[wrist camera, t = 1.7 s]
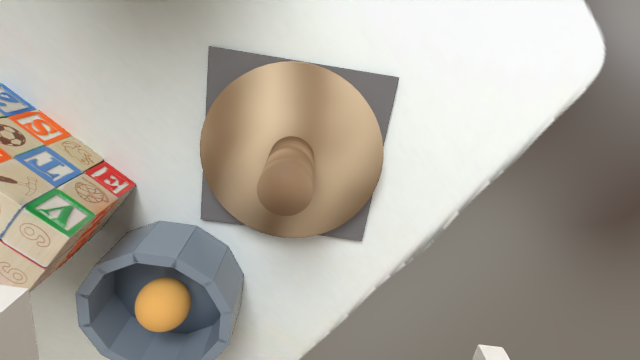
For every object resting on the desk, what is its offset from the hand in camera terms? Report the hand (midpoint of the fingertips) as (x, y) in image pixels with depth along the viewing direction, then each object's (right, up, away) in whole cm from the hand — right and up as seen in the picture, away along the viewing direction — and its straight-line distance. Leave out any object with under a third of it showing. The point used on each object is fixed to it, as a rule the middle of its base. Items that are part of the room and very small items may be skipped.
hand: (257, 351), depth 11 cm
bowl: (-11, -4, +23) cm, 26 cm away
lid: (0, +7, +19) cm, 20 cm away
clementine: (-11, -5, +22) cm, 26 cm away
